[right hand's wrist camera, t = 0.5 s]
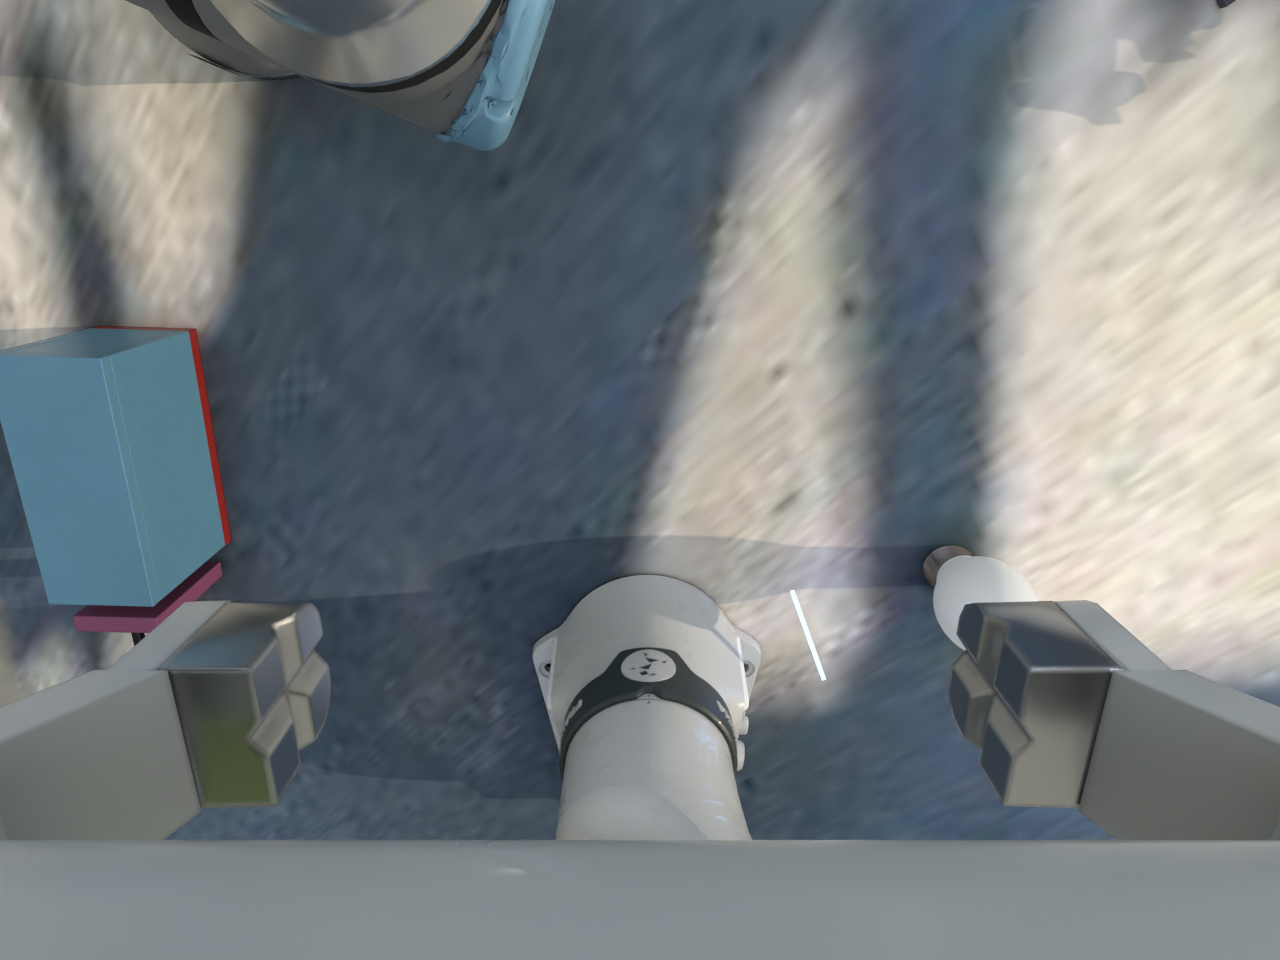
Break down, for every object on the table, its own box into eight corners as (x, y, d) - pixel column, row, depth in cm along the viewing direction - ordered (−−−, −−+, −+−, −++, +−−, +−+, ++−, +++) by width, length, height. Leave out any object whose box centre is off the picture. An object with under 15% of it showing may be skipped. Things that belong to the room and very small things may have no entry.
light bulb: (899, 598, 63) (950, 678, 53) (917, 522, 61) (974, 589, 50) (981, 605, 63) (1048, 686, 53) (1002, 529, 61) (1076, 598, 50)
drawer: (234, 639, 63) (174, 705, 55) (163, 638, 63) (94, 703, 55) (189, 382, 56) (113, 415, 48) (109, 380, 56) (19, 412, 48)
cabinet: (231, 540, 61) (153, 607, 51) (143, 538, 61) (48, 604, 51) (195, 328, 56) (100, 358, 46) (98, 325, 55) (-19, 354, 46)
